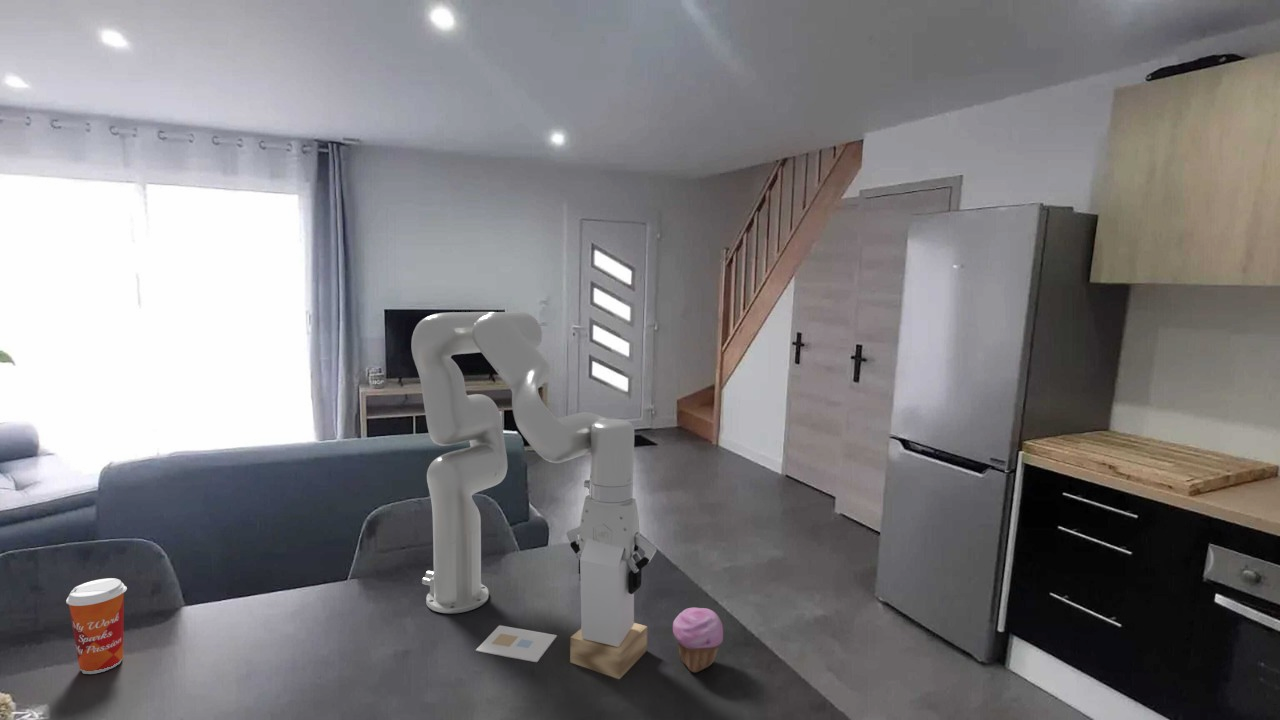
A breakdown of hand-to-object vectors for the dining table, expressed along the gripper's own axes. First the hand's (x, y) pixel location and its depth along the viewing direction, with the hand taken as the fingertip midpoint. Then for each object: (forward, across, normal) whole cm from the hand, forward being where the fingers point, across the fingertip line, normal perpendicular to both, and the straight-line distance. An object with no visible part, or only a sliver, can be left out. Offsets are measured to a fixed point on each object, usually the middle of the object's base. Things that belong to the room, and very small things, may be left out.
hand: (609, 584), depth 114 cm
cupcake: (+14, +15, +5) cm, 21 cm away
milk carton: (+9, 0, -1) cm, 9 cm away
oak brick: (+14, 0, 0) cm, 14 cm away
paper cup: (+14, -75, -42) cm, 87 cm away
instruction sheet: (+14, -17, -4) cm, 22 cm away
